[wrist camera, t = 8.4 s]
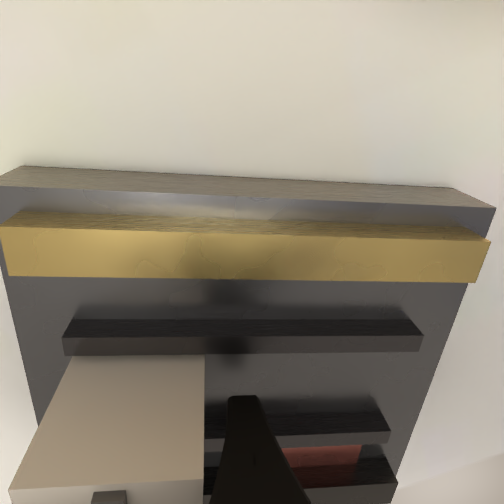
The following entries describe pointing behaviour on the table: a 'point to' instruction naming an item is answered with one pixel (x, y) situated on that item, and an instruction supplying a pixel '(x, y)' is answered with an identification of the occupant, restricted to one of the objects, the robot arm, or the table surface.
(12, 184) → the breaker panel
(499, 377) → the table surface
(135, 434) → the block
